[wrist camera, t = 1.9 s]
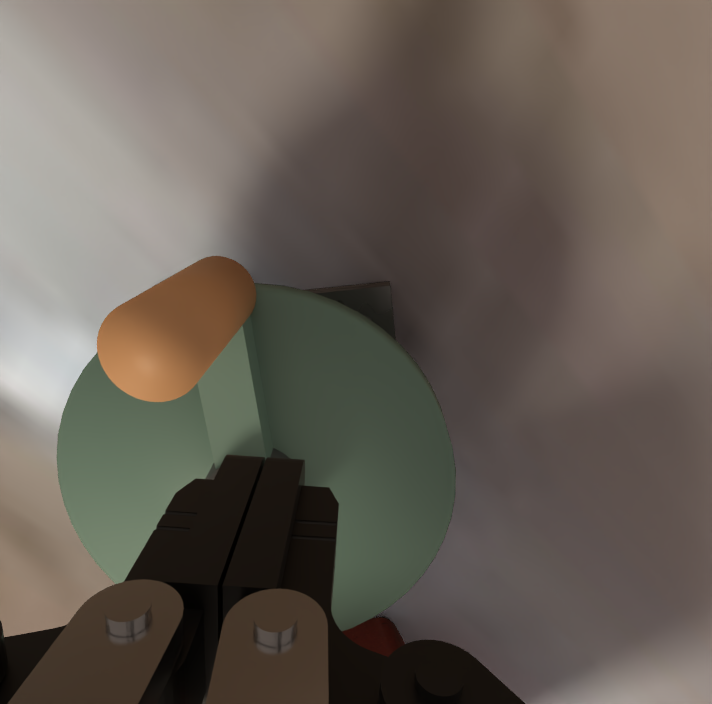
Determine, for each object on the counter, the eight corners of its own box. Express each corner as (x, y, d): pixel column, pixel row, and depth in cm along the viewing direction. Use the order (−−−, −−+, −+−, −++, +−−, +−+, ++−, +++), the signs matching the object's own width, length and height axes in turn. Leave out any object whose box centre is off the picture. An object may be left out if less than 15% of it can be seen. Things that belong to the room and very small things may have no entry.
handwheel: (459, 604, 30) (498, 790, 21) (126, 627, 31) (27, 815, 22) (435, 226, 24) (475, 264, 15) (19, 272, 25) (-176, 332, 16)
